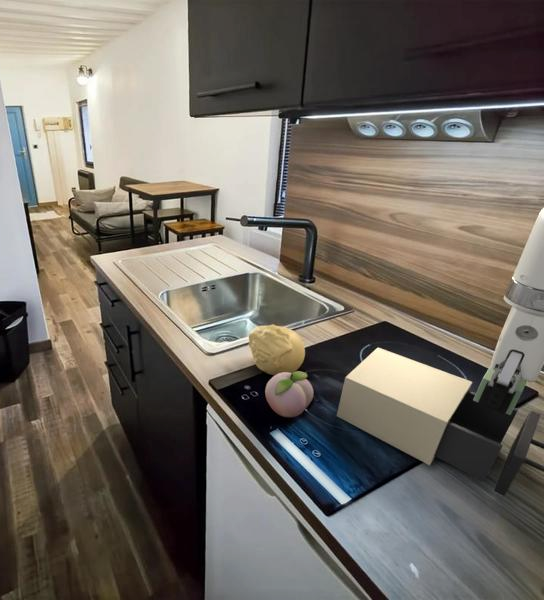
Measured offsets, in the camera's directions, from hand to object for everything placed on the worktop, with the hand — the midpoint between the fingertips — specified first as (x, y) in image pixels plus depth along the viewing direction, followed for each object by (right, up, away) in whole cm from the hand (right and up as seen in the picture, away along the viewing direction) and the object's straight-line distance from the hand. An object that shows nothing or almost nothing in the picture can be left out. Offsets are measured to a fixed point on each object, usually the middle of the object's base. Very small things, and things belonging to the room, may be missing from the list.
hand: (495, 399), depth 57 cm
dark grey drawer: (+1, -10, +4) cm, 11 cm away
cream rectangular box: (-7, -8, +14) cm, 17 cm away
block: (0, 0, 0) cm, 0 cm away
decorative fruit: (-27, -8, +17) cm, 32 cm away
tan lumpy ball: (-24, -1, +30) cm, 39 cm away
